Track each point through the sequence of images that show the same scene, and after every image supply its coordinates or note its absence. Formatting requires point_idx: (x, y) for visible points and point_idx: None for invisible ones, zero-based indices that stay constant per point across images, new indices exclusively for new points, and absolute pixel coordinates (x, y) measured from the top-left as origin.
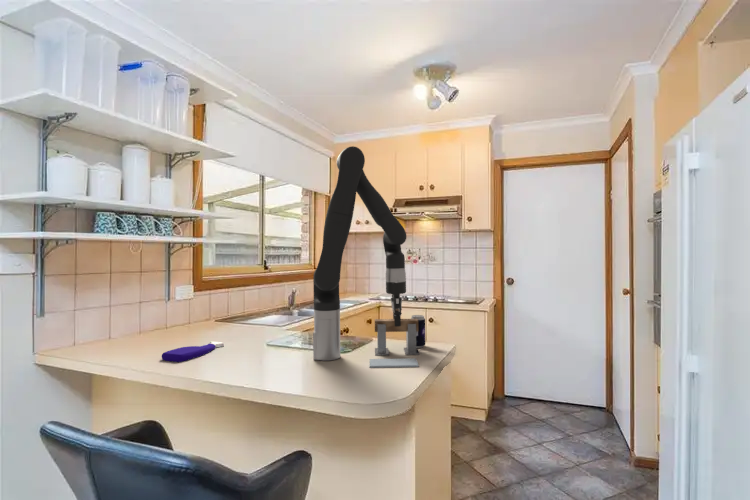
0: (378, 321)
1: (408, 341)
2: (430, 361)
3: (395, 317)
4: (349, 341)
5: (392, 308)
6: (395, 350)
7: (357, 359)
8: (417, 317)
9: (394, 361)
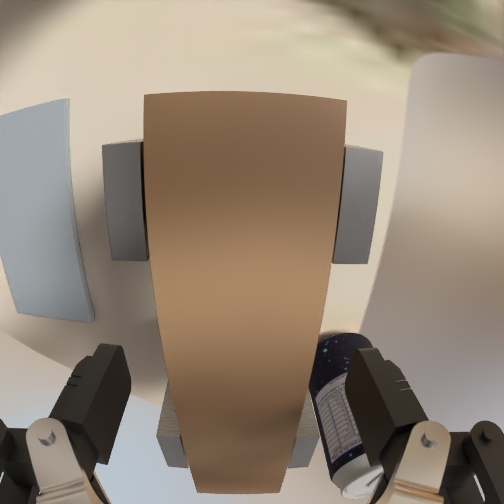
0: (147, 161)
1: None
2: None
3: (70, 415)
4: (483, 33)
5: (39, 501)
6: None
7: (100, 33)
8: (344, 485)
9: (34, 227)
